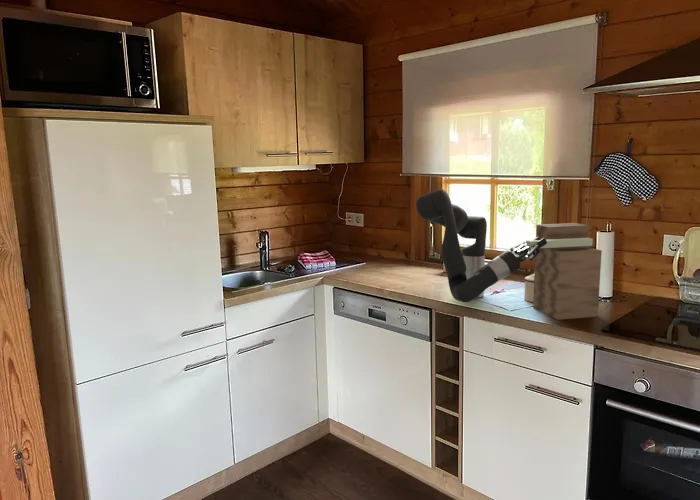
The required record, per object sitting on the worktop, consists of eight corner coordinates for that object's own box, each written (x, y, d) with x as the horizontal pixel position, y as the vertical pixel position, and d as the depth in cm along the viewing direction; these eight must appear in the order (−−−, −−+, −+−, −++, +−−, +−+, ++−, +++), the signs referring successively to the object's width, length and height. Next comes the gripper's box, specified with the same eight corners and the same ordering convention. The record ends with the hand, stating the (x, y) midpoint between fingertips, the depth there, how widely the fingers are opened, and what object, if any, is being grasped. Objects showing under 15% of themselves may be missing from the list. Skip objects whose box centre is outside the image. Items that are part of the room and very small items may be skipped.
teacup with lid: (542, 304, 207) (544, 275, 205) (520, 300, 213) (521, 272, 211) (553, 298, 216) (554, 270, 215) (531, 294, 222) (532, 267, 220)
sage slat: (525, 247, 186) (526, 240, 186) (587, 244, 191) (587, 237, 190) (530, 248, 183) (530, 241, 183) (592, 245, 188) (592, 238, 187)
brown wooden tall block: (533, 307, 202) (536, 224, 197) (570, 305, 205) (575, 222, 200) (557, 319, 187) (561, 229, 182) (597, 316, 190) (603, 227, 185)
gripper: (507, 260, 176) (549, 233, 178) (488, 253, 190) (528, 228, 191) (517, 279, 178) (558, 251, 179) (497, 271, 192) (536, 245, 193)
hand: (542, 239), depth 185 cm, fingers closed on sage slat, 3 cm apart
